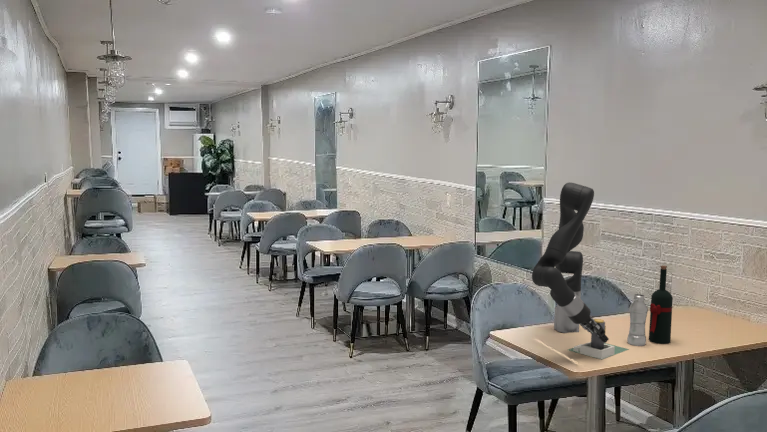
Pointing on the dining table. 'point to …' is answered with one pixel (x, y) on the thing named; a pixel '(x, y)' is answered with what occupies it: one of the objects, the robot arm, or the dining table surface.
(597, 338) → the dark grey cylinder
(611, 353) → the board
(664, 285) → the wine bottle
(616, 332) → the dining table surface
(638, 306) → the plastic bottle
